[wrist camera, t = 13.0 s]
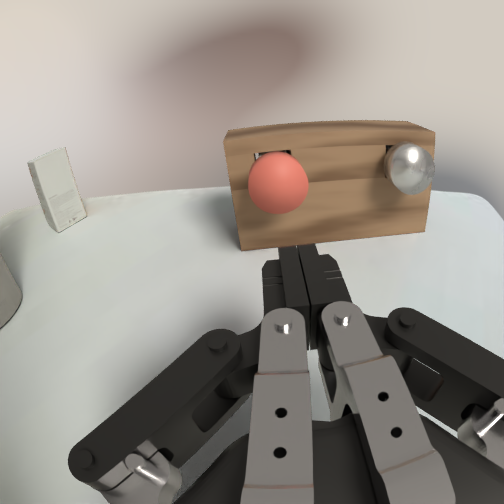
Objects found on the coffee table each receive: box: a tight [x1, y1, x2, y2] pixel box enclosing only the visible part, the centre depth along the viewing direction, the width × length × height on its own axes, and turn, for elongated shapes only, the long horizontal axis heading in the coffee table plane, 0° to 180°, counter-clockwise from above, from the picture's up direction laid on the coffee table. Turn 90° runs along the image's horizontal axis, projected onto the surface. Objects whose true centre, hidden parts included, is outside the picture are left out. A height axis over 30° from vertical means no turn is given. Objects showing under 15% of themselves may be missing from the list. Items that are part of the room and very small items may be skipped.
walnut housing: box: [223, 120, 435, 251], centre depth 29 cm, size 6×20×11 cm, turn 90°
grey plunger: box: [384, 141, 435, 195], centre depth 27 cm, size 12×4×4 cm, turn 0°
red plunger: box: [248, 150, 309, 214], centre depth 26 cm, size 12×4×4 cm, turn 0°
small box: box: [28, 147, 87, 233], centre depth 42 cm, size 8×6×13 cm
